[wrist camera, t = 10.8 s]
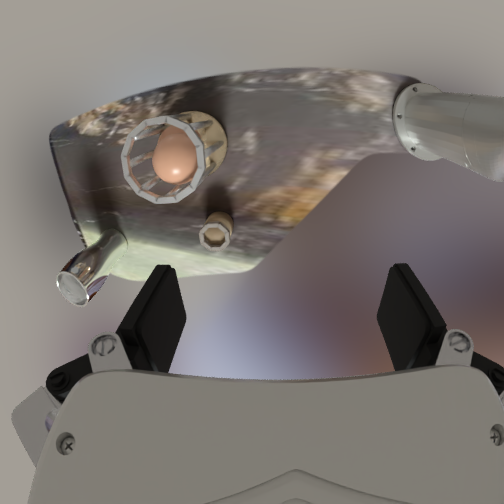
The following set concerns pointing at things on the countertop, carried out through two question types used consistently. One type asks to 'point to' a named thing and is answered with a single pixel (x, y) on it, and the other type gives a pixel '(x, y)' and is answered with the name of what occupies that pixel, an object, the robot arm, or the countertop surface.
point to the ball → (173, 132)
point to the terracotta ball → (175, 159)
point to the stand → (216, 231)
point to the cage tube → (207, 148)
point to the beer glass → (91, 268)
